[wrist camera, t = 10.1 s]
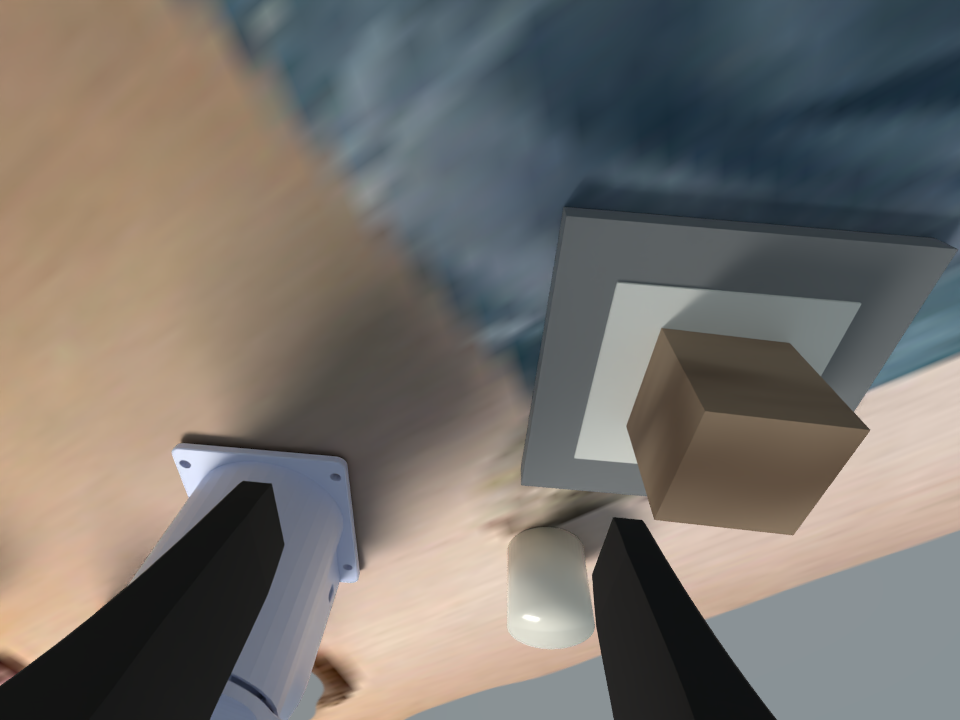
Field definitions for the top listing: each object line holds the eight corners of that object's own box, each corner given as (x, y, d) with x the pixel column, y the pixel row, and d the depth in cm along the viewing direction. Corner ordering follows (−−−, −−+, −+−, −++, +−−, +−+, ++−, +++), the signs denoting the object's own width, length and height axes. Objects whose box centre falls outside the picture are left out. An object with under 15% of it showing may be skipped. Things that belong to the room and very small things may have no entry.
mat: (781, 491, 22) (792, 510, 21) (520, 468, 22) (521, 487, 21) (934, 238, 16) (961, 250, 15) (563, 206, 16) (566, 217, 15)
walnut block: (738, 438, 19) (793, 535, 16) (626, 426, 19) (654, 519, 15) (789, 342, 17) (870, 430, 13) (661, 327, 17) (705, 411, 13)
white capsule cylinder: (576, 576, 27) (585, 652, 23) (504, 569, 27) (503, 645, 23) (590, 530, 25) (602, 607, 21) (511, 523, 25) (511, 598, 21)
